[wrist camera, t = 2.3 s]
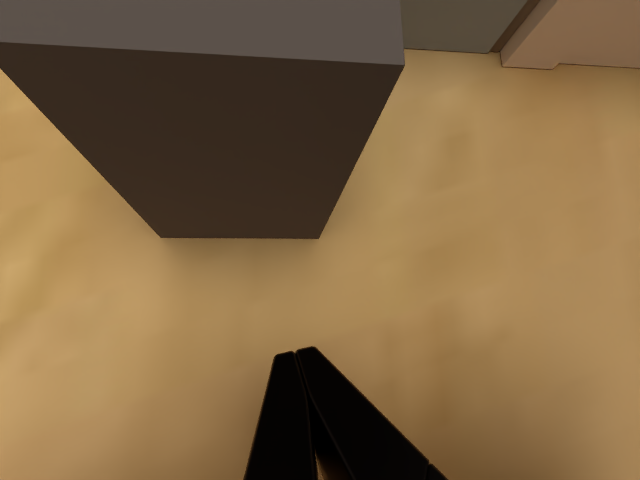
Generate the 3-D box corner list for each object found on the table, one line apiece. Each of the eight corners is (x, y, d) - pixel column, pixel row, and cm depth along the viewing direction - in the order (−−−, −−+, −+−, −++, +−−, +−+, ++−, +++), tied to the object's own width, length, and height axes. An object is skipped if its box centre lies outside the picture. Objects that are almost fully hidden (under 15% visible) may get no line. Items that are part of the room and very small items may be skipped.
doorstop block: (318, 238, 17) (404, 64, 7) (160, 237, 16) (-27, 40, 6) (314, 81, 19) (379, -260, 8) (171, 74, 18) (40, -310, 8)
